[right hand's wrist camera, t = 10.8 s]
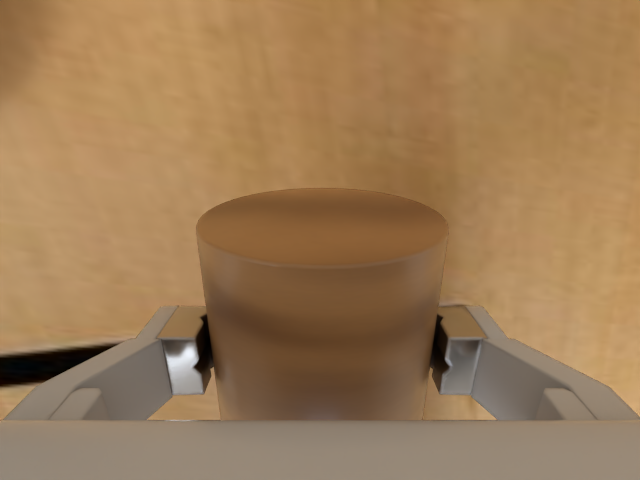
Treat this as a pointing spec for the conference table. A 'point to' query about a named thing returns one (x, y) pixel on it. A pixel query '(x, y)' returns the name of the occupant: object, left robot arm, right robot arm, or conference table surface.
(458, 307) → the right robot arm
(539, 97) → the conference table surface
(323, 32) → the conference table surface
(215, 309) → the cylinder
